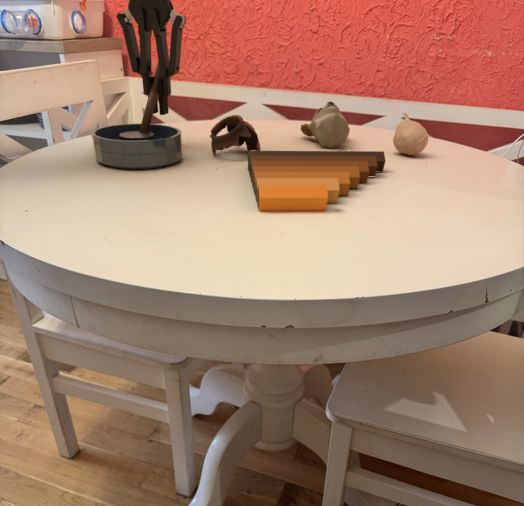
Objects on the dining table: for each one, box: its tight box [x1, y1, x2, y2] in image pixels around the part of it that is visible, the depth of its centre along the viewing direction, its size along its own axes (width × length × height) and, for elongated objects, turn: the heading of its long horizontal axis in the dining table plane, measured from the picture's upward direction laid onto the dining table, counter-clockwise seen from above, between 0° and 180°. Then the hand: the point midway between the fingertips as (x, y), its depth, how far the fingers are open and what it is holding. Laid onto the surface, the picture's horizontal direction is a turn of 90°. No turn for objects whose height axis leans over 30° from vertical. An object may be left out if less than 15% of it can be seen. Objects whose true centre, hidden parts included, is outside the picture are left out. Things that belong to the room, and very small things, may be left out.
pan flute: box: [247, 150, 386, 212], centre depth 83 cm, size 25×3×25 cm
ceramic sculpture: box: [300, 101, 351, 149], centre depth 110 cm, size 11×9×15 cm
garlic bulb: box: [392, 111, 429, 156], centre depth 103 cm, size 7×6×8 cm
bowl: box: [91, 123, 184, 170], centre depth 94 cm, size 16×16×5 cm
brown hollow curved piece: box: [209, 114, 262, 156], centre depth 100 cm, size 12×10×8 cm
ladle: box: [119, 61, 160, 141], centre depth 97 cm, size 18×6×14 cm, turn 165°
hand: (159, 113), depth 102 cm, fingers closed on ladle, 2 cm apart
